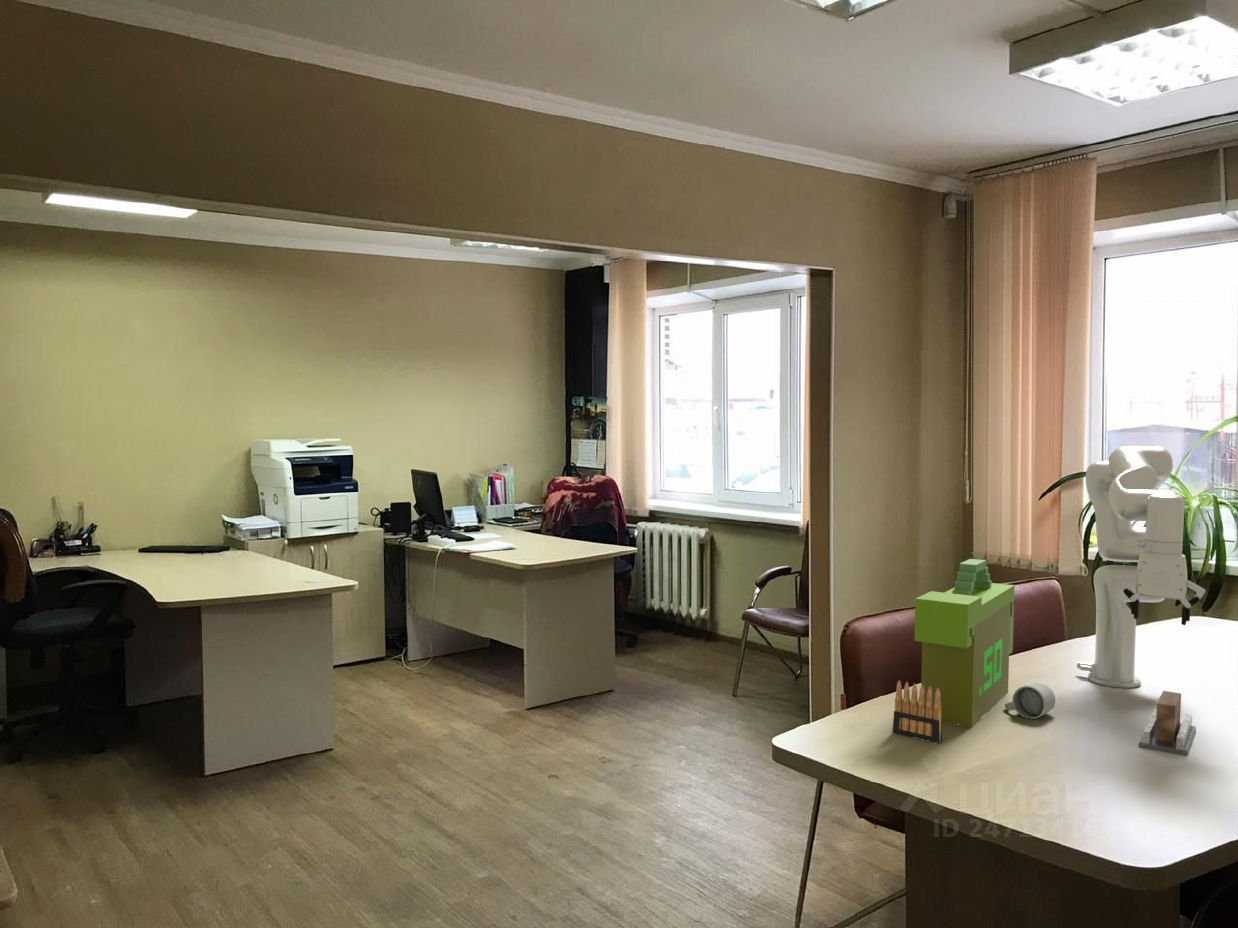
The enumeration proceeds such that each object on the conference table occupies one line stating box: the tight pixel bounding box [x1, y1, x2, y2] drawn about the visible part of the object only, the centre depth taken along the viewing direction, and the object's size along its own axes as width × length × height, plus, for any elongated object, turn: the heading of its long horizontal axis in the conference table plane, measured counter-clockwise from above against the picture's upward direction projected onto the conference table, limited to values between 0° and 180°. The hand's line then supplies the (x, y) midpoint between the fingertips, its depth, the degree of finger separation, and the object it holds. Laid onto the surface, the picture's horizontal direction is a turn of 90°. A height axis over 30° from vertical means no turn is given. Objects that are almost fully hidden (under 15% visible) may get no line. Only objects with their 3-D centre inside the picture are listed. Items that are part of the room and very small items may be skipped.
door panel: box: [1155, 690, 1182, 743], centre depth 209 cm, size 4×12×8 cm, turn 144°
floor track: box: [1138, 708, 1197, 756], centre depth 209 cm, size 9×20×4 cm, turn 144°
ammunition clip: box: [892, 679, 943, 744], centre depth 209 cm, size 11×2×12 cm, turn 50°
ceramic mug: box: [1004, 682, 1056, 720], centre depth 227 cm, size 11×8×8 cm
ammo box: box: [914, 558, 1015, 728], centre depth 232 cm, size 45×12×35 cm, turn 145°
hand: (1159, 620), depth 219 cm, fingers open, 9 cm apart
